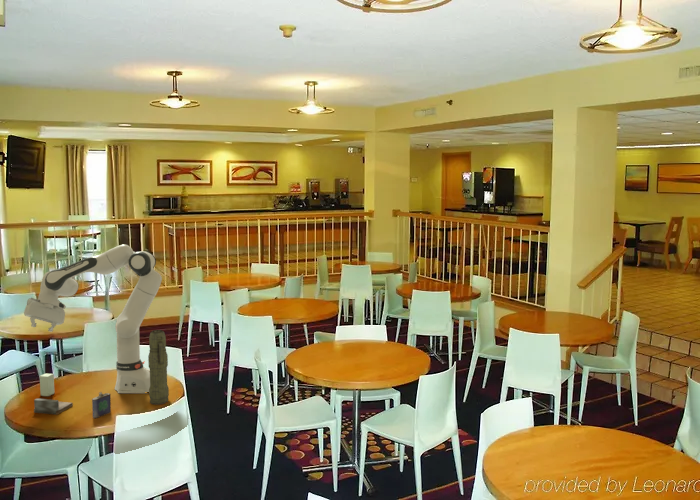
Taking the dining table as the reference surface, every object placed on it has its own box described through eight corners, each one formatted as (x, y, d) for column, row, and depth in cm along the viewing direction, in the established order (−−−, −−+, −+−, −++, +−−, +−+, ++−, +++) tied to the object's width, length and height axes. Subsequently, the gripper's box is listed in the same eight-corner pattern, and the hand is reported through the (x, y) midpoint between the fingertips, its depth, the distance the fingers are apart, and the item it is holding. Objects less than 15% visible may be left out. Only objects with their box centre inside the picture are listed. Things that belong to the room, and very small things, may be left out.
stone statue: (155, 407, 279) (153, 334, 275) (145, 400, 287) (143, 330, 283) (173, 402, 285) (171, 331, 281) (162, 395, 293) (160, 327, 289)
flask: (95, 419, 264) (94, 395, 263) (90, 417, 265) (89, 394, 264) (112, 412, 272) (111, 389, 271) (108, 411, 273) (107, 388, 272)
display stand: (72, 405, 279) (72, 393, 278) (57, 414, 268) (56, 401, 268) (50, 403, 281) (49, 391, 281) (33, 412, 271) (33, 399, 270)
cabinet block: (54, 393, 296) (53, 373, 295) (48, 396, 291) (47, 376, 290) (46, 392, 296) (45, 373, 295) (40, 395, 292) (39, 376, 291)
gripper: (32, 295, 286) (27, 322, 280) (68, 306, 303) (63, 332, 297) (24, 297, 288) (18, 324, 283) (60, 308, 305) (55, 334, 300)
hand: (42, 329), depth 290 cm, fingers open, 8 cm apart
